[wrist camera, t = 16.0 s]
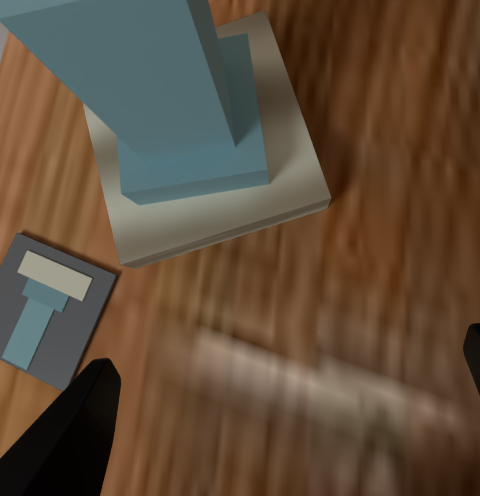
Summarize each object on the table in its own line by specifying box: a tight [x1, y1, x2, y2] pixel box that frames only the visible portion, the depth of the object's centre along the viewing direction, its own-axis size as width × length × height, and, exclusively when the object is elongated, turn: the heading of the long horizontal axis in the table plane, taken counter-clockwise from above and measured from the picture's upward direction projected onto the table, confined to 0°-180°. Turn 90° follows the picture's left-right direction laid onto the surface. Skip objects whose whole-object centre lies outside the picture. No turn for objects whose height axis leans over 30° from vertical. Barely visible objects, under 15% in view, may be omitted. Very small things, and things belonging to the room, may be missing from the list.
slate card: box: [0, 233, 118, 391], centre depth 25 cm, size 8×8×1 cm
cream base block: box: [83, 10, 331, 269], centre depth 24 cm, size 13×13×3 cm
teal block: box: [0, 0, 269, 206], centre depth 16 cm, size 8×8×13 cm
